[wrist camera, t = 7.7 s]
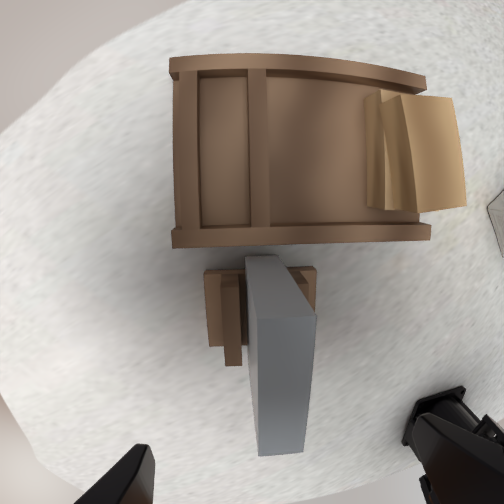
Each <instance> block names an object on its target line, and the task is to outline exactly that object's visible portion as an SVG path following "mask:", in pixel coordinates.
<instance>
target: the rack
mask: <svg viewBox="0 0 504 504" xmlns="http://www.w3.org/2000/svg"><path fill="white" fill-rule="evenodd" d="M169 74H170V76H171V77H172V79H173V173H174V201H175V221H176V227H175V228H174V229H173V230H171V236H172V249H175V248H201V247H229V246H257V245H287V244H318V243H351V242H386V241H423V240H430V237H431V225H429V224H425V223H421V222H419V216H420V213H414V212H409V211H404V210H383V209H378V208H373V207H368V206H367V150H366V127H365V111H364V98H366V97H368V96H369V95H371V94H373V93H375V92H376V91H378V90H380V89H383V90H388V91H394V92H399V93H404V94H409V95H415V94H418V93H420V92H423V91H425V90H427V86H426V79H425V76H422V75H418V74H414V73H410V72H406V71H402V70H397V69H393V68H388V67H383V66H378V65H373V64H367V63H361V62H355V61H348V60H341V59H333V58H324V57H314V56H303V55H288V54H260V53H236V54H208V55H193V56H182V57H172V58H170V59H169Z"/></svg>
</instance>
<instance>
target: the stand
mask: <svg viewBox="0 0 504 504" xmlns="http://www.w3.org/2000/svg"><path fill="white" fill-rule="evenodd" d="M286 268H287V270H288V271H289V273H290V274H291V276H292V277H293V279H294V281H295V282H296V284H297V285H298V287H299V288H300V290H301V292H302V293H303V295H304V296H305V298H306V299H307V301H308V303H309V304H310V306H311V307H312V309H313V310H314V312H315V299H316V273H317V270H316V269H315V268H314V267H313V266H305V267H286ZM204 289H205V303H206V315H207V327H208V338H209V347H212V346H224V355H225V366H242V350H241V346H242V345H247V313H246V274H245V269H231V270H205V272H204Z"/></svg>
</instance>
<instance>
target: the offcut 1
mask: <svg viewBox="0 0 504 504" xmlns="http://www.w3.org/2000/svg"><path fill="white" fill-rule="evenodd" d="M400 94H404V93H399V92H394V91H388V90H383V89H380V90H378V91H376V92H375V93H373V94H371V95H369V96H368V97H366V98H364V111H365V127H366V150H367V206H368V207H373V208H378V209H383V210H399V209H394V200H393V190H392V182H391V174H390V166H389V159H388V152H387V146H386V140H385V134H384V128H383V123H382V117H381V112H380V107H379V104H381V103H383V102H385V101H387V100H389V99H391V98H394V97H396V96H398V95H400ZM404 95H409V94H404ZM436 211H439V210H436Z"/></svg>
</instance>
